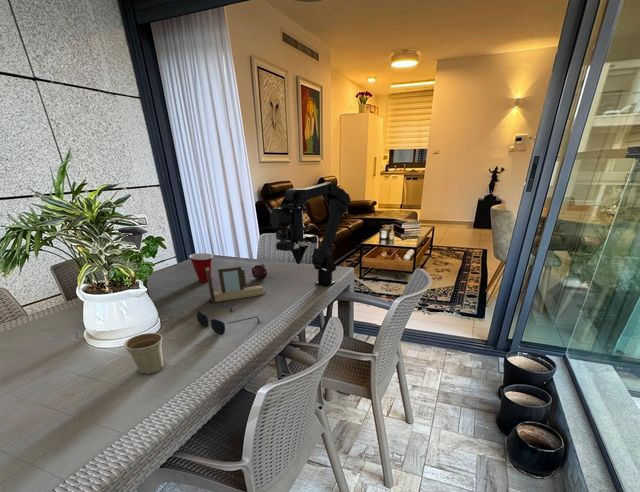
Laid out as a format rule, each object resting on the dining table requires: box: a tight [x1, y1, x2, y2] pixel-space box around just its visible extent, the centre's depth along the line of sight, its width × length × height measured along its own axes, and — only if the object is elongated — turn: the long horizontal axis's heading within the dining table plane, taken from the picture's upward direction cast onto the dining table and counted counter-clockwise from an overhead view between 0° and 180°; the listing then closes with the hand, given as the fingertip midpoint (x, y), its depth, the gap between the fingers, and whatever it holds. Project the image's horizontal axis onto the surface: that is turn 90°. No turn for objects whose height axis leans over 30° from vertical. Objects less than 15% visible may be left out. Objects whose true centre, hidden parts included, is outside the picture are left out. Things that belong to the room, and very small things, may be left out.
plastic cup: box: [188, 252, 214, 283], centre depth 166 cm, size 11×11×12 cm
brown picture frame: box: [217, 266, 247, 293], centre depth 143 cm, size 10×2×11 cm, turn 111°
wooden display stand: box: [205, 267, 265, 303], centre depth 144 cm, size 21×5×13 cm, turn 111°
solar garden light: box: [117, 226, 151, 298], centre depth 132 cm, size 12×12×30 cm
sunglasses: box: [196, 304, 260, 336], centre depth 122 cm, size 17×15×5 cm
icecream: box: [251, 263, 268, 281], centre depth 166 cm, size 7×7×15 cm
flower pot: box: [123, 332, 164, 375], centre depth 95 cm, size 9×9×9 cm
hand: (298, 263), depth 144 cm, fingers closed
